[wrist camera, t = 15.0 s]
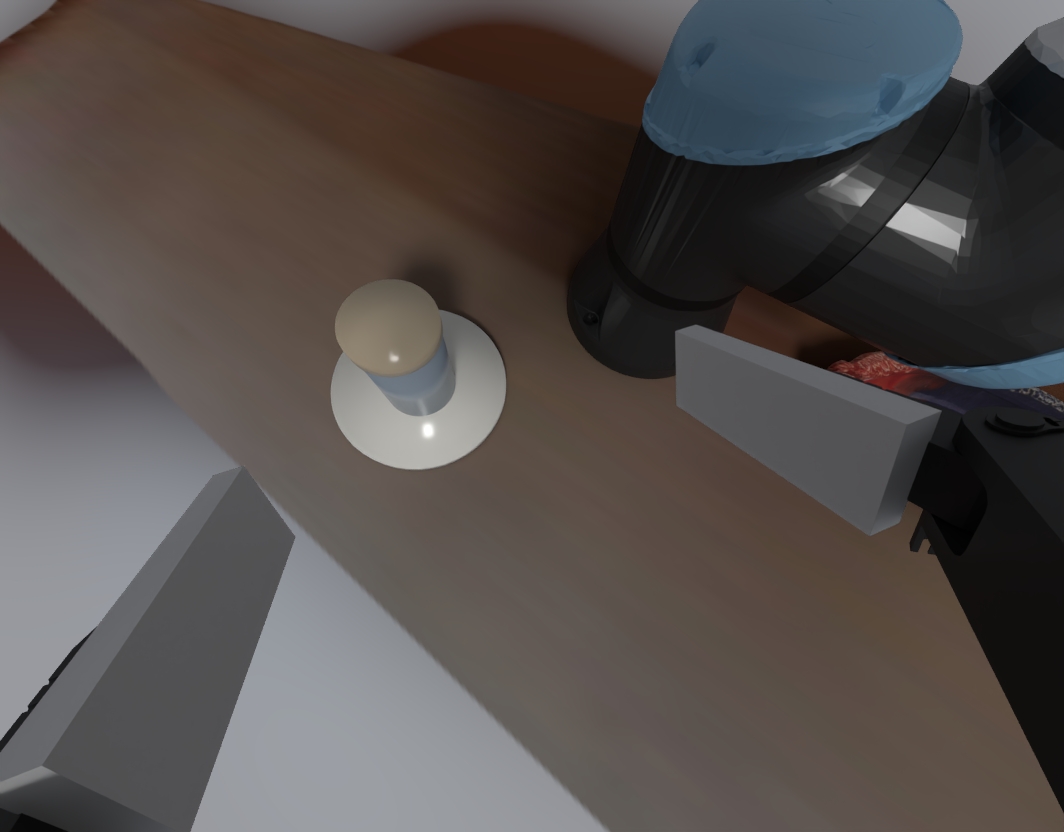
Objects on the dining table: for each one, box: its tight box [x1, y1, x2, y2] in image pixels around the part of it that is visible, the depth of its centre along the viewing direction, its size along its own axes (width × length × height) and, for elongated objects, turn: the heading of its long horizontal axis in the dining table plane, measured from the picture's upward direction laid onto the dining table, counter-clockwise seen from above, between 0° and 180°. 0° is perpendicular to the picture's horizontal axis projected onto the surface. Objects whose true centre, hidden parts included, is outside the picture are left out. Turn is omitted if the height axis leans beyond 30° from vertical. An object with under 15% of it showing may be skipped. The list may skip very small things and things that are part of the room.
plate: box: [331, 310, 506, 470], centre depth 34 cm, size 15×15×1 cm
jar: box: [335, 279, 456, 416], centre depth 29 cm, size 6×6×10 cm
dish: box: [826, 351, 1064, 420], centre depth 34 cm, size 16×31×5 cm, turn 59°
